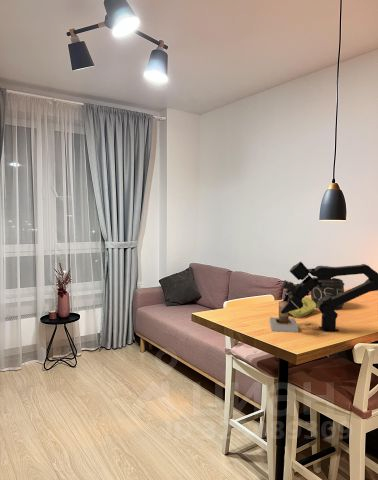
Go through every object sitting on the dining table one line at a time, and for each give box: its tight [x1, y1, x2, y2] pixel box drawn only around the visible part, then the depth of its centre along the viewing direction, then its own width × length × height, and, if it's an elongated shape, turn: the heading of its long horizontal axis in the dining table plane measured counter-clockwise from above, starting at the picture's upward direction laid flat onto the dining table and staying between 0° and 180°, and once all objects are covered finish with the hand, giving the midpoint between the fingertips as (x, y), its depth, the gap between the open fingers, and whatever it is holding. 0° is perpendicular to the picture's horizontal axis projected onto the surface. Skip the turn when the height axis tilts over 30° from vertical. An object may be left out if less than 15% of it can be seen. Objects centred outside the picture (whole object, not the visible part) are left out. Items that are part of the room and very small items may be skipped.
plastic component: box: [289, 296, 316, 319], centre depth 193 cm, size 20×7×10 cm
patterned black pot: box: [310, 277, 345, 311], centre depth 207 cm, size 18×18×16 cm
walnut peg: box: [278, 300, 290, 323], centre depth 168 cm, size 4×4×12 cm
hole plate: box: [269, 317, 299, 333], centre depth 168 cm, size 12×12×3 cm
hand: (280, 310), depth 168 cm, fingers open, 9 cm apart
